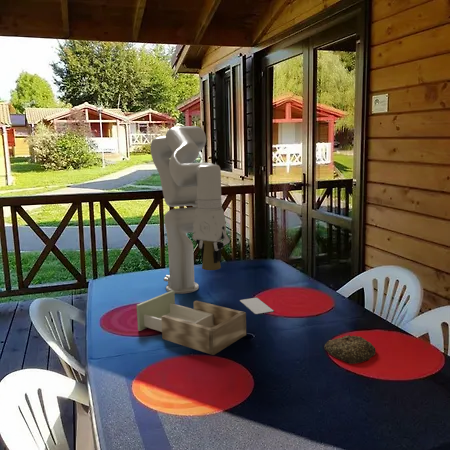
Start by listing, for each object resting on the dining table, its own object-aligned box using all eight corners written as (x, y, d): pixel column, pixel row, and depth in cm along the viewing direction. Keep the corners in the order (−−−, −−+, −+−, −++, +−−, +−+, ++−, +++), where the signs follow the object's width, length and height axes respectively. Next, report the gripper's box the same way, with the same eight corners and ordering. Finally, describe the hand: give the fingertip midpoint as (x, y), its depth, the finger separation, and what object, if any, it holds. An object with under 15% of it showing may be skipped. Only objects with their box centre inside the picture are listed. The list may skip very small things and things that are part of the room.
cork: (223, 265, 154) (222, 232, 152) (217, 270, 148) (216, 236, 146) (205, 264, 156) (204, 231, 154) (199, 269, 150) (198, 235, 148)
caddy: (162, 338, 140) (161, 316, 139) (197, 321, 153) (196, 300, 151) (213, 355, 129) (212, 331, 128) (246, 334, 142) (245, 312, 140)
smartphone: (255, 314, 157) (238, 300, 171) (255, 315, 157) (239, 301, 171) (274, 311, 159) (256, 297, 173) (274, 312, 159) (256, 298, 173)
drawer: (138, 330, 146) (136, 304, 144) (173, 313, 159) (172, 290, 157) (183, 344, 135) (182, 317, 134) (217, 325, 148) (216, 300, 146)
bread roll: (348, 368, 121) (349, 350, 120) (318, 349, 132) (318, 332, 131) (385, 356, 127) (386, 339, 126) (353, 339, 137) (353, 323, 136)
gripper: (181, 204, 150) (183, 260, 153) (224, 207, 140) (226, 267, 144) (195, 201, 156) (197, 255, 159) (238, 204, 147) (239, 261, 150)
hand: (211, 260), depth 152 cm, fingers closed on cork, 4 cm apart
